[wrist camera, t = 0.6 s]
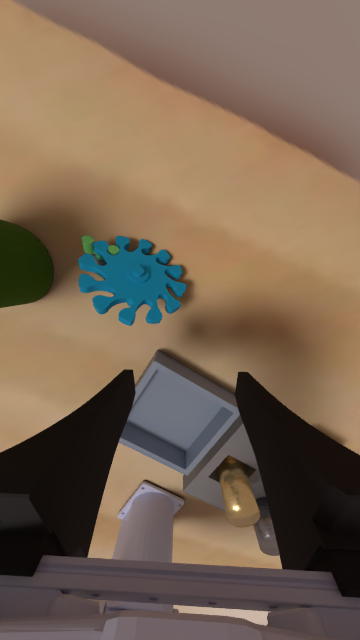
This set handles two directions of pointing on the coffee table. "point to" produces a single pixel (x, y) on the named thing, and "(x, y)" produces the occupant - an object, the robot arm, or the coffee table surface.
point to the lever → (266, 530)
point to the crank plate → (205, 473)
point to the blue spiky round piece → (129, 278)
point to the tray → (177, 414)
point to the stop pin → (237, 493)
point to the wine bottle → (22, 266)
